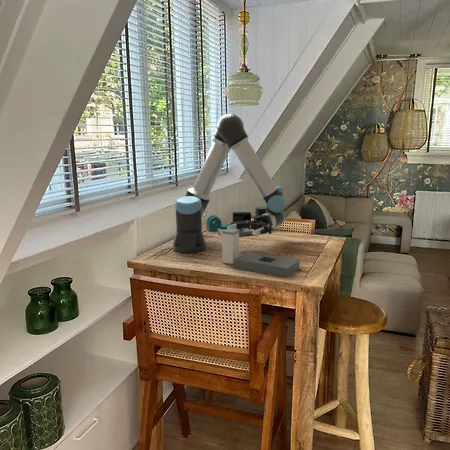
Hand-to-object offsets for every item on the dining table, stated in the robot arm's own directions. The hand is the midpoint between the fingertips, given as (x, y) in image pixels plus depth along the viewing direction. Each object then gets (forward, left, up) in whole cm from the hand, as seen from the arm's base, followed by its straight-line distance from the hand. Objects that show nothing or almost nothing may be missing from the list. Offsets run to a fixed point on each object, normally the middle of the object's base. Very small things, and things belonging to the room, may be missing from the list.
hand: (241, 231), depth 183 cm
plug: (+8, -4, -12) cm, 15 cm away
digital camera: (-66, 0, -12) cm, 67 cm away
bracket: (-54, -10, -12) cm, 56 cm away
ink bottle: (-54, +11, -12) cm, 57 cm away
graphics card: (-40, -3, -12) cm, 42 cm away
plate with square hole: (+17, +10, -12) cm, 23 cm away
